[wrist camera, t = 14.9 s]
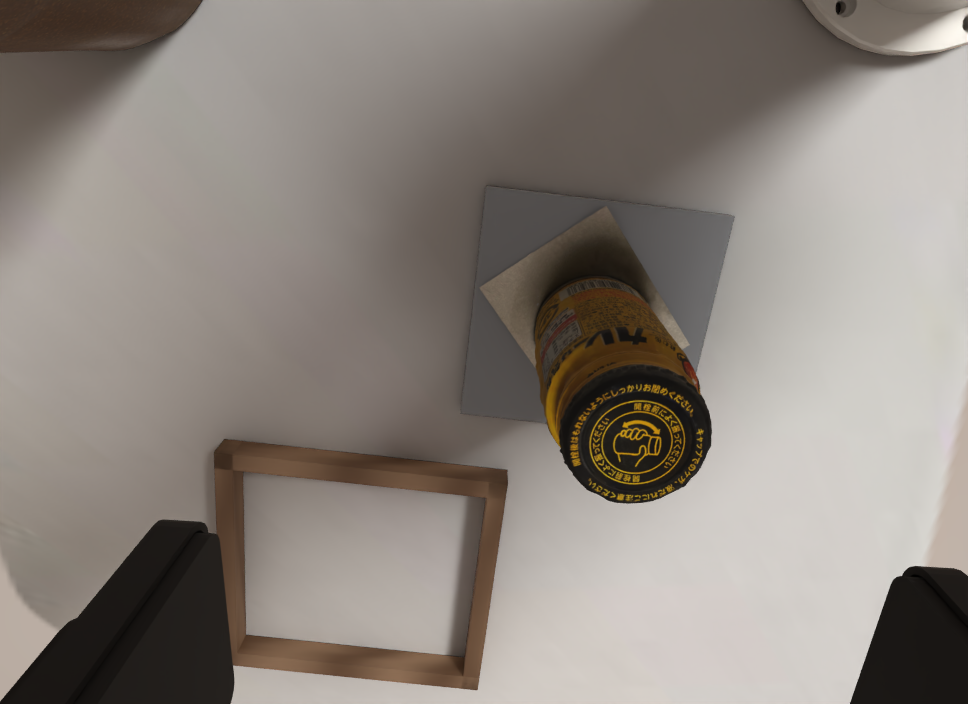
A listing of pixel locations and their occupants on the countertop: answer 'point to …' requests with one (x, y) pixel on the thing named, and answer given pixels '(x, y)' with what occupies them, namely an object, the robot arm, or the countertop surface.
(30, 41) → the plant pot
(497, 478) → the wooden square frame
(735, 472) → the countertop surface
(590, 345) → the condiment
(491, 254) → the mat
